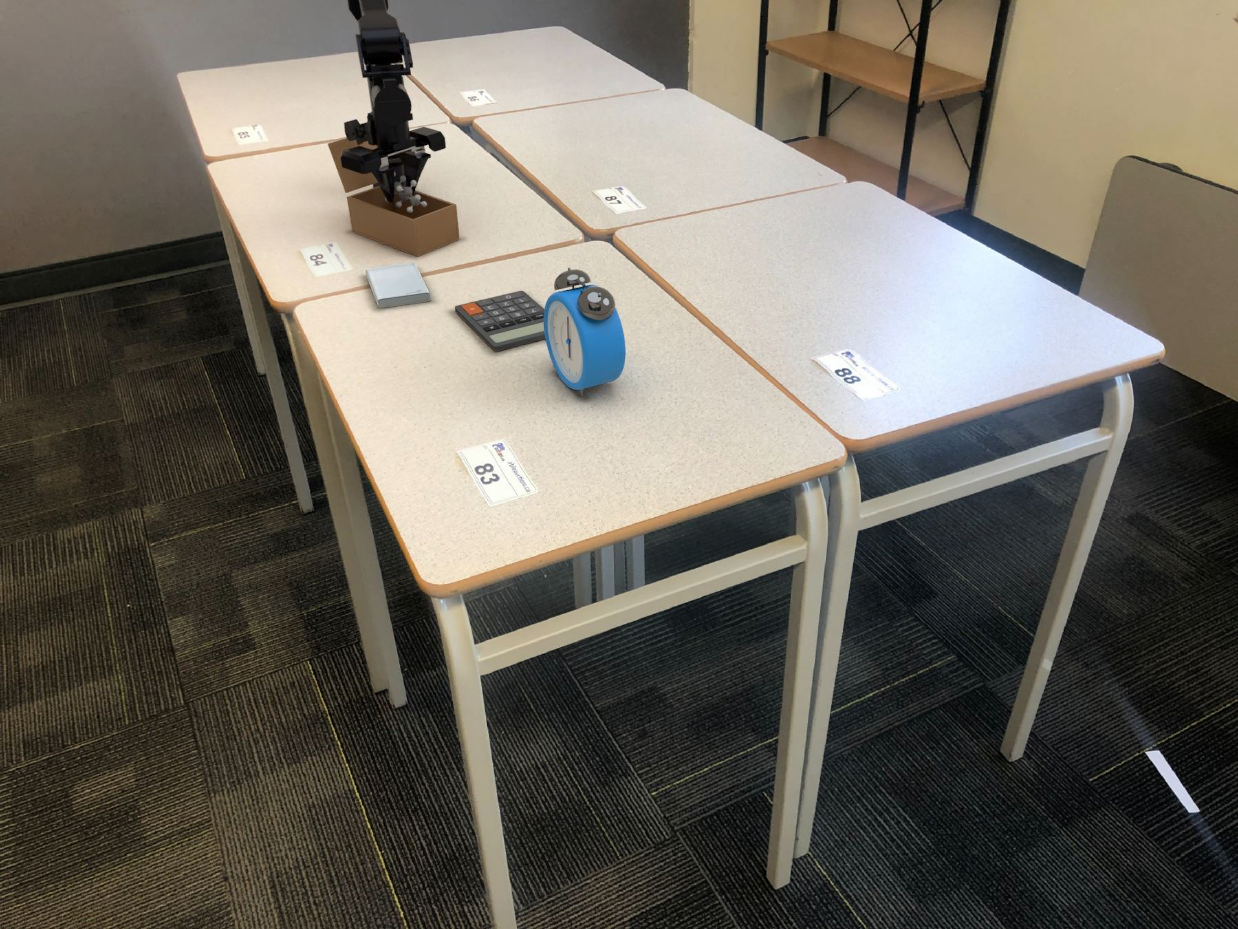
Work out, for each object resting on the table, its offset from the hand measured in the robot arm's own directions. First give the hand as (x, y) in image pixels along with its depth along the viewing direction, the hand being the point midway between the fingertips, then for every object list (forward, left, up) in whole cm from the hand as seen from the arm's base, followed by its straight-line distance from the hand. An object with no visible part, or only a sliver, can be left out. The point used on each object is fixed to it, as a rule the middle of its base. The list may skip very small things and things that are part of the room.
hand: (400, 198), depth 167 cm
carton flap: (0, -10, +5) cm, 11 cm away
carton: (0, 0, -7) cm, 7 cm away
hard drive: (+16, +16, -7) cm, 23 cm away
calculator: (+13, +38, -7) cm, 41 cm away
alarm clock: (+19, +58, -7) cm, 61 cm away
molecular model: (0, 0, -1) cm, 1 cm away
